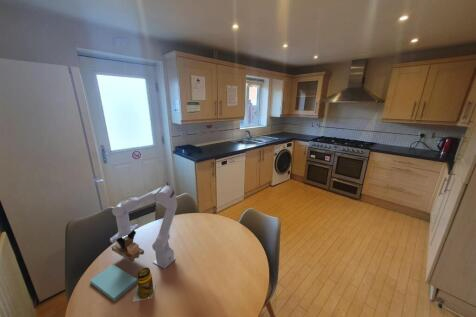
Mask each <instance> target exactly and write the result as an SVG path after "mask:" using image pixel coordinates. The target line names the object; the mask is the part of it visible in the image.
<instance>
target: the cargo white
mask: <svg viewBox="0 0 476 317" xmlns="http://www.w3.org/2000/svg"><path fill="white" fill-rule="evenodd" d="M125 237H126V236H123V237H122V238H125ZM114 243H115V244H114V245H116V247H118V248H121V246H120V245H119V243H118V242H117V241H115V242H114Z"/></svg>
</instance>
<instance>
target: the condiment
mask: <svg viewBox="0 0 476 317" xmlns="http://www.w3.org/2000/svg"><path fill="white" fill-rule="evenodd" d="M136 276H137V277H136V279H137V283H136V284H137V287H136V290H135V293H134V295H133V299H132V303H134V302H140V301H145V300H149V299H153V298H154V293H155V291H156V285H157V284H156V283H154V284H153V275H152V273H151V269H150V268H149V267H142V268H141V269H139V270H138V271H137V275H136ZM148 297H149V298H148Z"/></svg>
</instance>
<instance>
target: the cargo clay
mask: <svg viewBox="0 0 476 317" xmlns="http://www.w3.org/2000/svg"><path fill="white" fill-rule="evenodd" d="M139 248H140V245H139V244H138V243H136V242H134V241H133V243H132V244H130V245H129V246H127V251H128V253H129V254H130V255H132V256H133V255H134V254H136V253H137V252H138V251H139Z"/></svg>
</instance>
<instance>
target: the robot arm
mask: <svg viewBox="0 0 476 317" xmlns="http://www.w3.org/2000/svg"><path fill="white" fill-rule="evenodd" d="M149 201H153V202H155V203H158V204H159V205H161V206H163V207H164V209H165V212H164V216H163V218H162V221H161V222H162V223H161V225H160V228H159V232H158V234H157V237H156V238H155V241H154V242H153V244H152V246H151V247H152V249H153V251H154V252H155V259H154V260H153V261H152V263H153V264H154V265H157V266H159V267H160V268H163V269H166V268H167V267H169V266H170V265H171V264H172V263H173V262H174V261H175V260H176V257H175V254H174V253H175V252H174V249H172V248H171V247H170V243H169V240H170V239H171V238H170V233H171V231H170V230H171V226H172V224H173V220H174V217H175V214H176V212H177V208H178V200H177V197H176V190H175V189H174V188H173V187H172V186H171V185H164V186H161V187H158V188H156V189H154V190H152V191H150V192H148V193H146V194H144V195H142V196H140V197H136V196H134V197H129V198H128V200H125V201H124V200H122V201H121V202H119V203H118V204H117V205H116V206H114V207H113V208H112V209H111V210H112V211H111V213H112V215H113V216H115V221H116V225H117V233H115V234H114V235H113V236H112V237H110V238H109V242H110V243H112V244H113V243H115V241H117V242H118V243H119V245H120V246H121V249H123V250H124V249H125V245H124V240H125V239H123V238H122V237H127V236H128V237H130V238H132V243H133V242H134V239H135V236H136V234H137V232H136V231H135V230H136V229H137V230H138V229H139V224H137V223H136V224H134V225H131V223H130V215H129V212H131V211H133V210H135V209H138V208H140V206H141V204H144V203H147V202H149Z"/></svg>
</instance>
